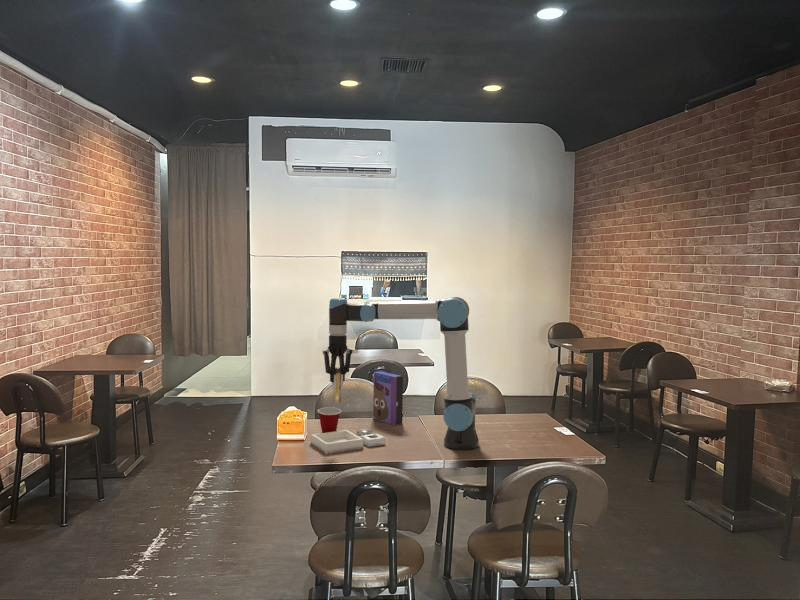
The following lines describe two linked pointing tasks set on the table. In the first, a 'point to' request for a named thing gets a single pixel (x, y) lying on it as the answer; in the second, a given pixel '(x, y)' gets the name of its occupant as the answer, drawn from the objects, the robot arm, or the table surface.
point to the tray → (336, 441)
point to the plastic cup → (329, 418)
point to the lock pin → (337, 385)
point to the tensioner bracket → (370, 437)
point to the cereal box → (388, 397)
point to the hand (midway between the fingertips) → (337, 389)
